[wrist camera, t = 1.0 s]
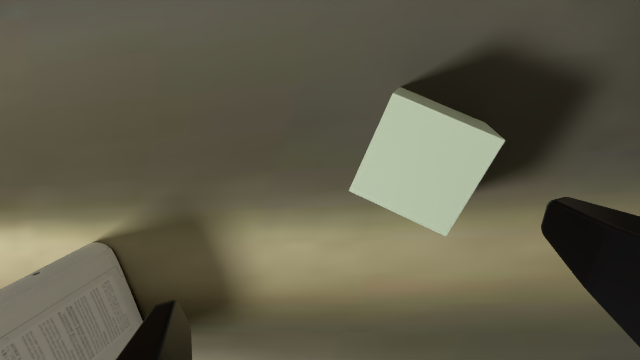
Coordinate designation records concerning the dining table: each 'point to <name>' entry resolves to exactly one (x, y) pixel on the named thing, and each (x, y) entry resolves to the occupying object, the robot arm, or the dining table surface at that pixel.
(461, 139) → the sage cube
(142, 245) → the dining table surface
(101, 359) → the photo printer
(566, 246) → the robot arm
